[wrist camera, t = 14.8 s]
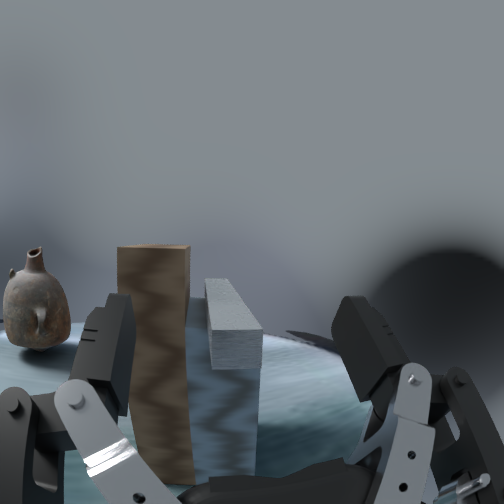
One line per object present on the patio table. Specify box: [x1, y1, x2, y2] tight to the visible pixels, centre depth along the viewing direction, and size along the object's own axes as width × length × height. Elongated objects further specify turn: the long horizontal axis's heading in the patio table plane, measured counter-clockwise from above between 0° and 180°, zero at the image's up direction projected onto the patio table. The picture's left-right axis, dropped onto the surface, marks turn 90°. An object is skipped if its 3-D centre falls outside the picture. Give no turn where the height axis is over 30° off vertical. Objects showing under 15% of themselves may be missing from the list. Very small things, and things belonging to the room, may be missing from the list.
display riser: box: [117, 244, 262, 485], centre depth 37 cm, size 15×16×32 cm
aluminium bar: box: [205, 278, 263, 370], centre depth 32 cm, size 4×26×3 cm, turn 10°
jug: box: [3, 247, 71, 352], centre depth 63 cm, size 24×21×30 cm
